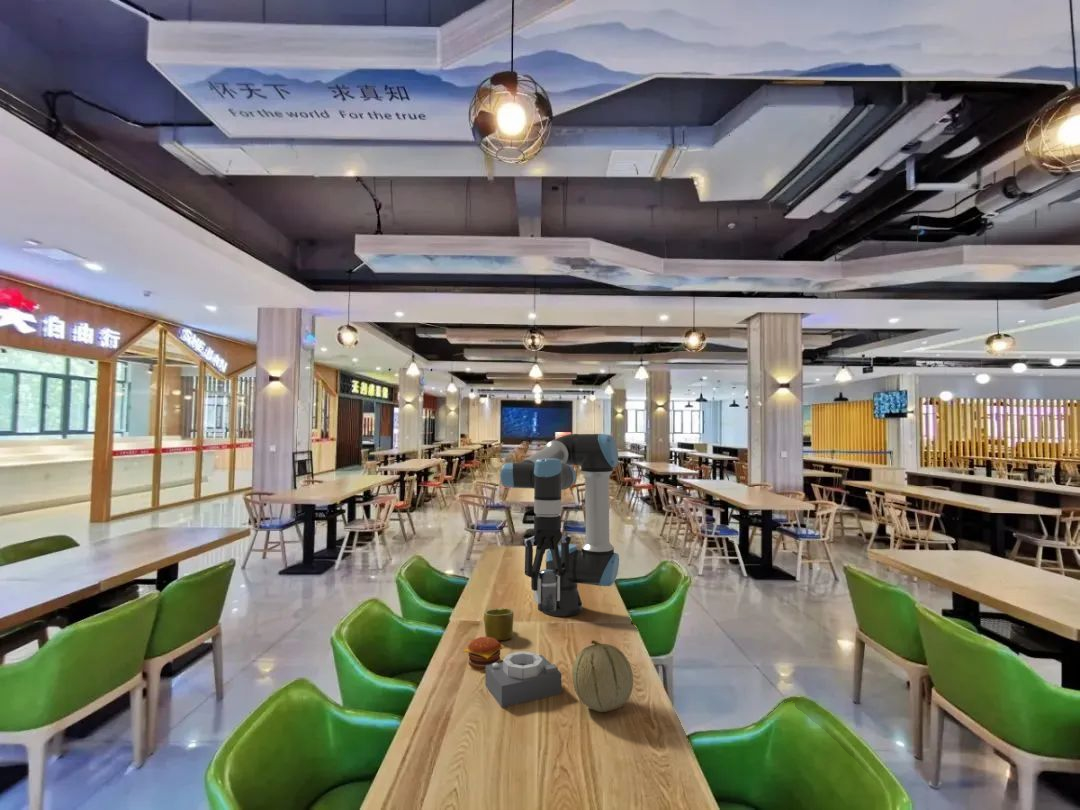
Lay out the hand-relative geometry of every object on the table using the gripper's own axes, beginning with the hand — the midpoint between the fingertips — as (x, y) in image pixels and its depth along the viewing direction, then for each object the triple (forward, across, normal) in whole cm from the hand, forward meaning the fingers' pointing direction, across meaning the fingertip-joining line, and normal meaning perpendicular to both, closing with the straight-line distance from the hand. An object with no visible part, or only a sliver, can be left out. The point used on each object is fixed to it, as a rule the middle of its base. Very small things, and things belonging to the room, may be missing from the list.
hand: (546, 600), depth 144 cm
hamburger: (+20, +13, -14) cm, 28 cm away
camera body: (+20, +9, +4) cm, 22 cm away
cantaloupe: (+20, -5, +21) cm, 29 cm away
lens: (+2, 0, 0) cm, 2 cm away
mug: (+20, +2, -31) cm, 37 cm away
